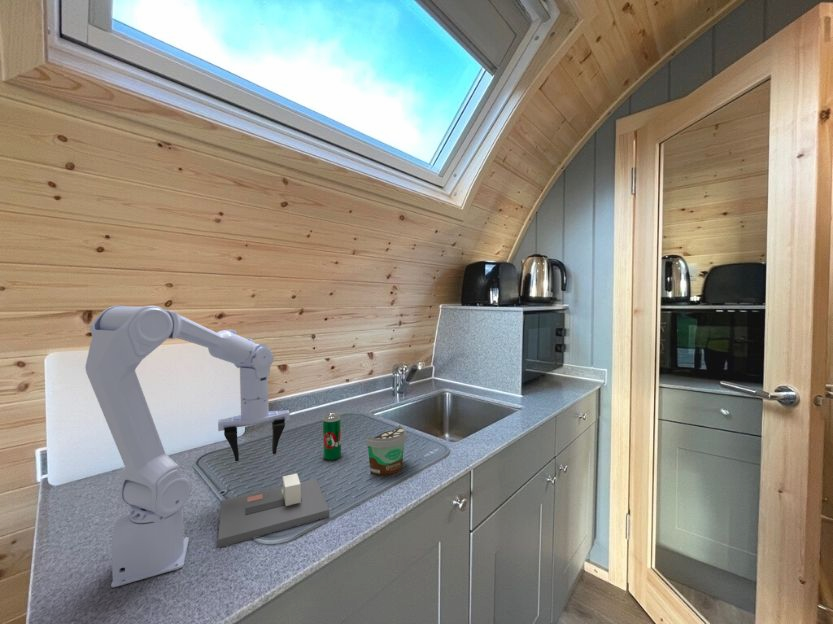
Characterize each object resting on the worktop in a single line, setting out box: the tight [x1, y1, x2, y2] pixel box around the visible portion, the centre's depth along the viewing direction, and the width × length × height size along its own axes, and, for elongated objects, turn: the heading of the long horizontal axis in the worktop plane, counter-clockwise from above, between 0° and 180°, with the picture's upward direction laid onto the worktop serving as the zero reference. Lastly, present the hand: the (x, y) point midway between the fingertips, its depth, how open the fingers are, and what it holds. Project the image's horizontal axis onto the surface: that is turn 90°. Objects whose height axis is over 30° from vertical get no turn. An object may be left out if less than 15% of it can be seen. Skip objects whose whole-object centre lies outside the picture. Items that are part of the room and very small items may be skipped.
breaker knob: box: [282, 472, 301, 506], centre depth 76 cm, size 3×5×4 cm, turn 27°
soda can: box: [322, 412, 342, 461], centre depth 100 cm, size 5×5×12 cm
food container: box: [365, 424, 408, 477], centre depth 92 cm, size 12×6×10 cm, turn 137°
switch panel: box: [217, 478, 330, 548], centre depth 75 cm, size 20×14×2 cm
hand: (256, 455), depth 80 cm, fingers open, 7 cm apart
